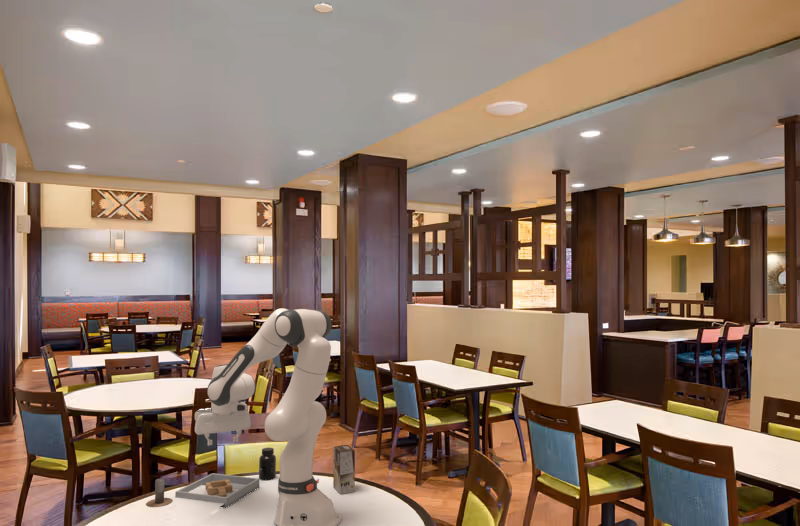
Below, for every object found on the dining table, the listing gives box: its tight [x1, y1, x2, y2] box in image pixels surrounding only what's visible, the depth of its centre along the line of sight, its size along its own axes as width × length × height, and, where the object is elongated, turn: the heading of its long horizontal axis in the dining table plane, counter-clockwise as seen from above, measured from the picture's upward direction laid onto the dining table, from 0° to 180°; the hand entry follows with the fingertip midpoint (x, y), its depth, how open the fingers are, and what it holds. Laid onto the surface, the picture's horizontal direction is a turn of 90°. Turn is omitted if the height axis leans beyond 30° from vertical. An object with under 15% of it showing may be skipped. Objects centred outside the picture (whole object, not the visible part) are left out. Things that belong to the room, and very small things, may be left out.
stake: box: [145, 478, 174, 508], centre depth 199 cm, size 9×9×10 cm
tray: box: [175, 472, 260, 509], centre depth 211 cm, size 22×22×4 cm
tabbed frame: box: [204, 479, 233, 497], centre depth 210 cm, size 13×9×3 cm
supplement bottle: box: [258, 447, 277, 481], centre depth 230 cm, size 7×7×12 cm
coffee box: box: [332, 444, 356, 495], centre depth 217 cm, size 9×6×16 cm
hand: (222, 443), depth 208 cm, fingers open, 8 cm apart
